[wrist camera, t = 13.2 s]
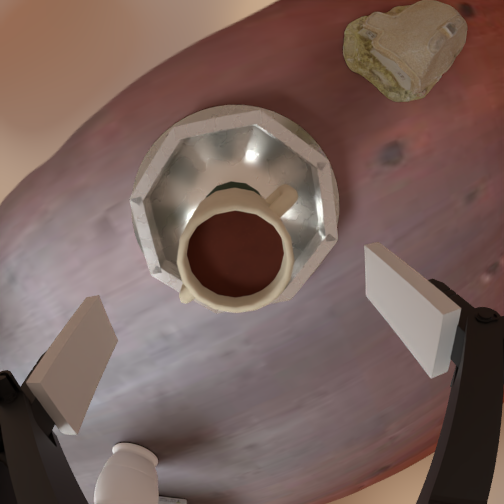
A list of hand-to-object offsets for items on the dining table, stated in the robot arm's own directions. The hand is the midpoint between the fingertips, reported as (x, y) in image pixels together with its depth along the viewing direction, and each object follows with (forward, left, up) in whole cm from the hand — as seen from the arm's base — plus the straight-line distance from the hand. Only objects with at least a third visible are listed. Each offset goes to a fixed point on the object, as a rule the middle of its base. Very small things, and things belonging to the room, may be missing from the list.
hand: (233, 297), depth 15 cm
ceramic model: (+21, +15, -18) cm, 32 cm away
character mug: (0, 0, -18) cm, 18 cm away
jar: (-26, -38, -18) cm, 49 cm away
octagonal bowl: (0, 0, -18) cm, 18 cm away
